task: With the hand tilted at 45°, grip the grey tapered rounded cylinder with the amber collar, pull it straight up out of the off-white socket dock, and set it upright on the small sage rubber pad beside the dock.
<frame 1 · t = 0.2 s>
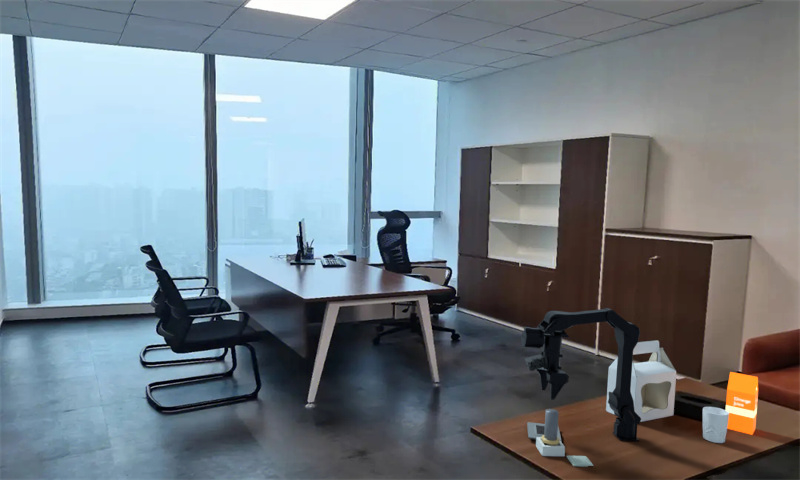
hand: (547, 394, 185), 14 cm above the table, tool pointing down, fingers open, 9 cm apart
gable box: (639, 413, 211), on the table
socket dock: (549, 451, 174), on the table
white cup: (713, 439, 189), on the table
rubber pad: (579, 461, 168), on the table
orange juice: (739, 428, 199), on the table
grey tapered rounded cylinder: (551, 431, 174), in the socket dock
electrical outlet: (543, 437, 186), on the table
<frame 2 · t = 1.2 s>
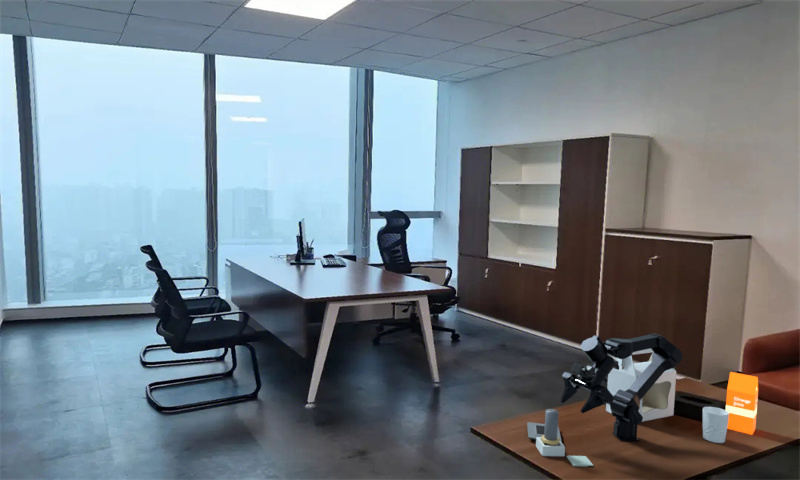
hand: (571, 407, 177), 13 cm above the table, tool tilted 45°, fingers open, 9 cm apart
nothing on the table moved.
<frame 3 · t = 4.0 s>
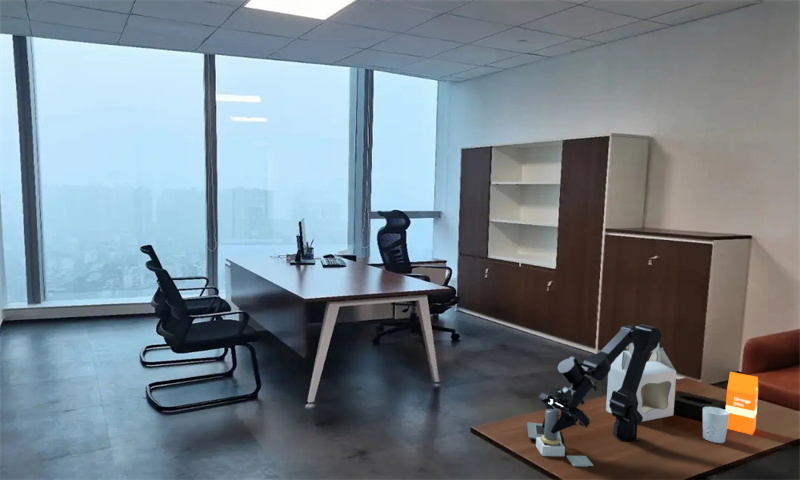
hand: (547, 430, 173), 7 cm above the table, tool tilted 45°, fingers closed on grey tapered rounded cylinder, 4 cm apart
grey tapered rounded cylinder: (551, 431, 174), in the socket dock, touching gripper
everything else where it was.
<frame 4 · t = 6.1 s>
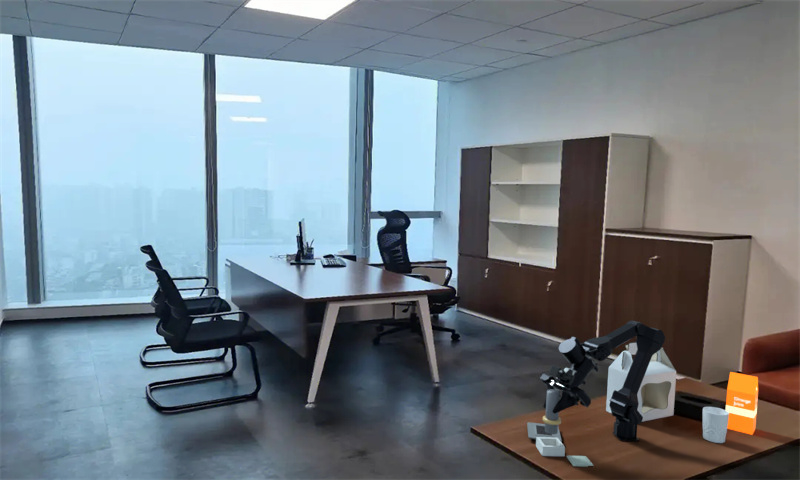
hand: (548, 410, 173), 13 cm above the table, tool tilted 45°, fingers closed on grey tapered rounded cylinder, 4 cm apart
grey tapered rounded cylinder: (552, 411, 173), point 13 cm above the table, touching gripper
everything else where it was.
when the fingers open (8 cm above the table, at t = 8.5 s): grey tapered rounded cylinder stays where it is, resting on rubber pad.
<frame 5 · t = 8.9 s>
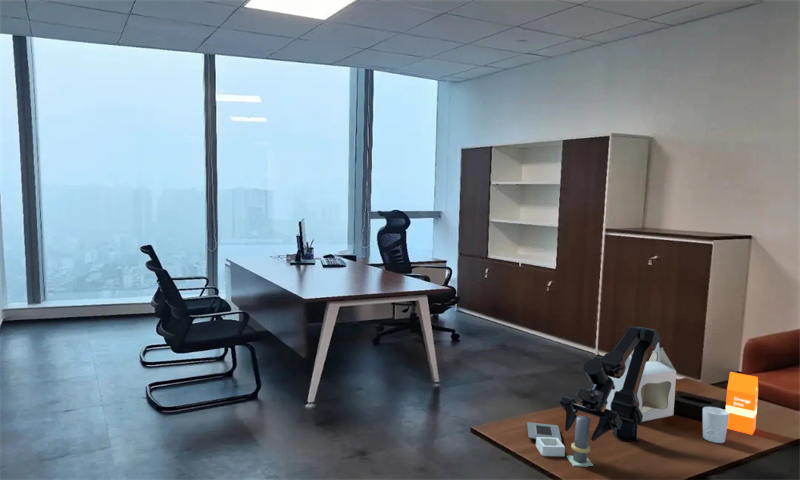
hand: (578, 435, 166), 9 cm above the table, tool tilted 45°, fingers open, 8 cm apart
grey tapered rounded cylinder: (581, 439, 167), on the rubber pad
everything else where it was.
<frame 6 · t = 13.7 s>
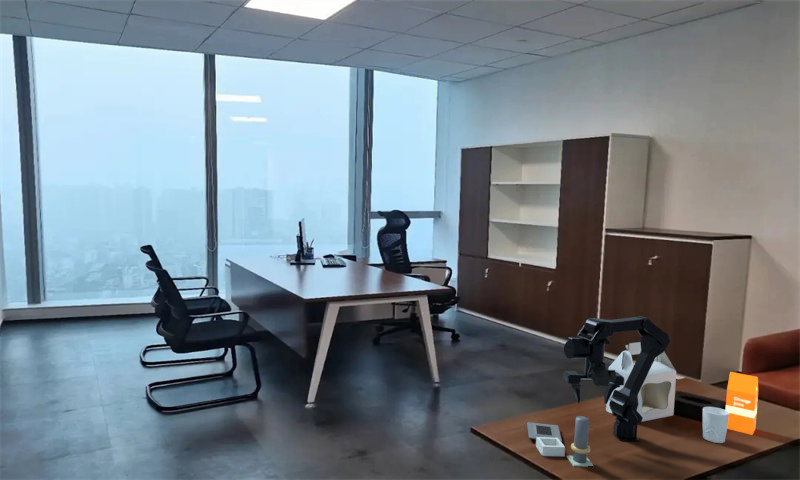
hand: (591, 403, 182), 13 cm above the table, tool pointing down, fingers open, 9 cm apart
nothing on the table moved.
at the end: grey tapered rounded cylinder 0.0 cm off-centre on the rubber pad, point 7.0 cm above the rubber pad's base; grey tapered rounded cylinder tilted 1°; the gripper is holding nothing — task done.
